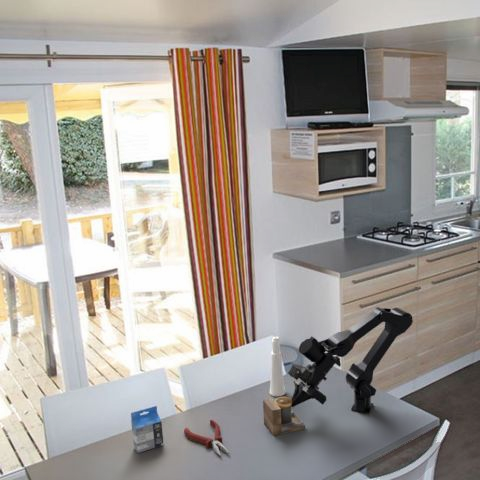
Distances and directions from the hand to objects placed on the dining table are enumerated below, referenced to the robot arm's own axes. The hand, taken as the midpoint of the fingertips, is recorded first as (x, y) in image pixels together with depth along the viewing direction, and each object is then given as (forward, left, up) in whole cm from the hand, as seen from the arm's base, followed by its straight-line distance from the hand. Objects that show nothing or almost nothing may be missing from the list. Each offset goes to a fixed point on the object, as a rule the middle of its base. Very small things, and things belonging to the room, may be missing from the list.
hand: (291, 405), depth 193 cm
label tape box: (+29, -38, -7) cm, 48 cm away
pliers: (+20, -22, -8) cm, 30 cm away
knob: (+2, -2, -5) cm, 6 cm away
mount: (+2, -2, -7) cm, 8 cm away
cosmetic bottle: (-19, -13, -7) cm, 24 cm away
